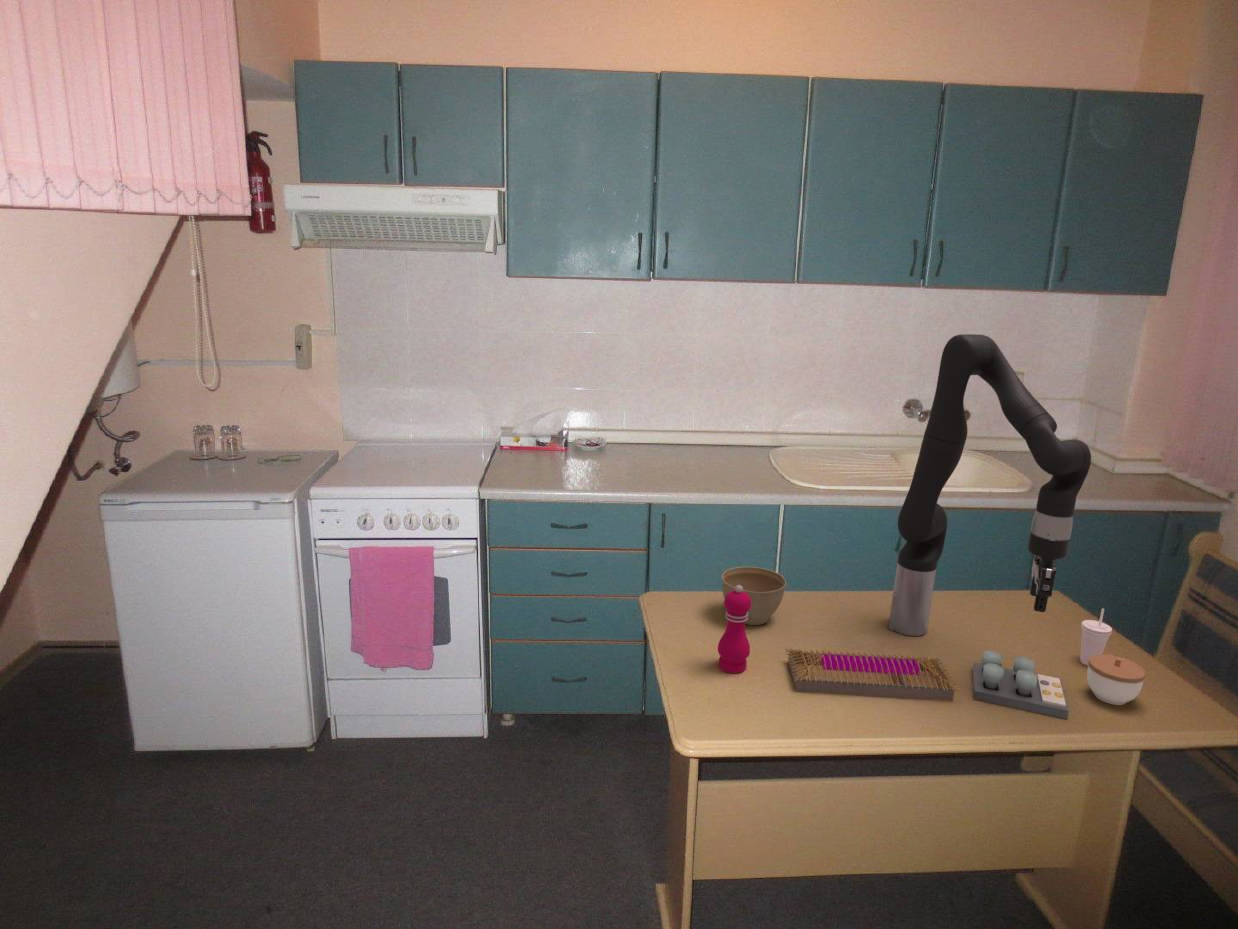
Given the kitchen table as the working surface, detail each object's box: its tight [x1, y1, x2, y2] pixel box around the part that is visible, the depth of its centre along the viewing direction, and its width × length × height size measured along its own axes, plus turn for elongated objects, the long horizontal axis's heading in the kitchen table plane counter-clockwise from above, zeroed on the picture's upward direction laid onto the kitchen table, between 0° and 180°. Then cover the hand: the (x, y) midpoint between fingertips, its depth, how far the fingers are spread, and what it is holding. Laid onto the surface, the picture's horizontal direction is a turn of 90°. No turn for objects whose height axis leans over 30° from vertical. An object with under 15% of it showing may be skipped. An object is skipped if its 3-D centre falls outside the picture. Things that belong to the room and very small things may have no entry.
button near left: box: [982, 663, 1004, 689], centre depth 179 cm, size 4×4×4 cm
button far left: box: [981, 649, 1003, 667], centre depth 184 cm, size 4×4×4 cm
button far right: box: [1012, 656, 1036, 674], centre depth 182 cm, size 4×4×4 cm
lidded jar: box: [1086, 653, 1147, 706], centre depth 179 cm, size 11×11×9 cm
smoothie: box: [1079, 608, 1113, 667], centre depth 194 cm, size 6×6×14 cm
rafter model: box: [784, 647, 961, 702], centre depth 182 cm, size 35×14×6 cm, turn 87°
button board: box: [972, 661, 1069, 720], centre depth 180 cm, size 18×14×3 cm
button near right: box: [1015, 670, 1037, 696], centre depth 176 cm, size 4×4×4 cm
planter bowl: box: [721, 566, 787, 626], centre depth 210 cm, size 16×16×11 cm
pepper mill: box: [717, 585, 751, 674], centre depth 184 cm, size 7×7×20 cm
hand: (1037, 603), depth 178 cm, fingers open, 8 cm apart
